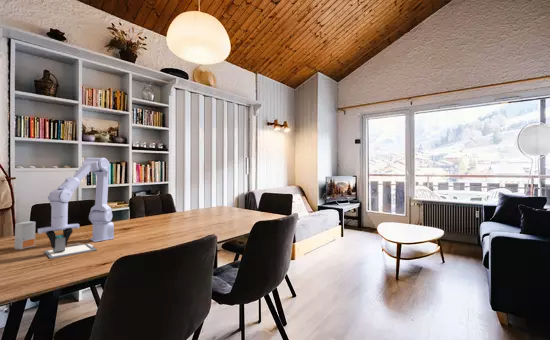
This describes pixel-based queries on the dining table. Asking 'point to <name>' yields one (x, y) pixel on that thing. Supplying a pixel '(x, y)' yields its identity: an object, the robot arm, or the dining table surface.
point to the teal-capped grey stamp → (59, 243)
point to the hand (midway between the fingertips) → (59, 246)
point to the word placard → (74, 244)
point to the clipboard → (71, 251)
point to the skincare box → (24, 235)
